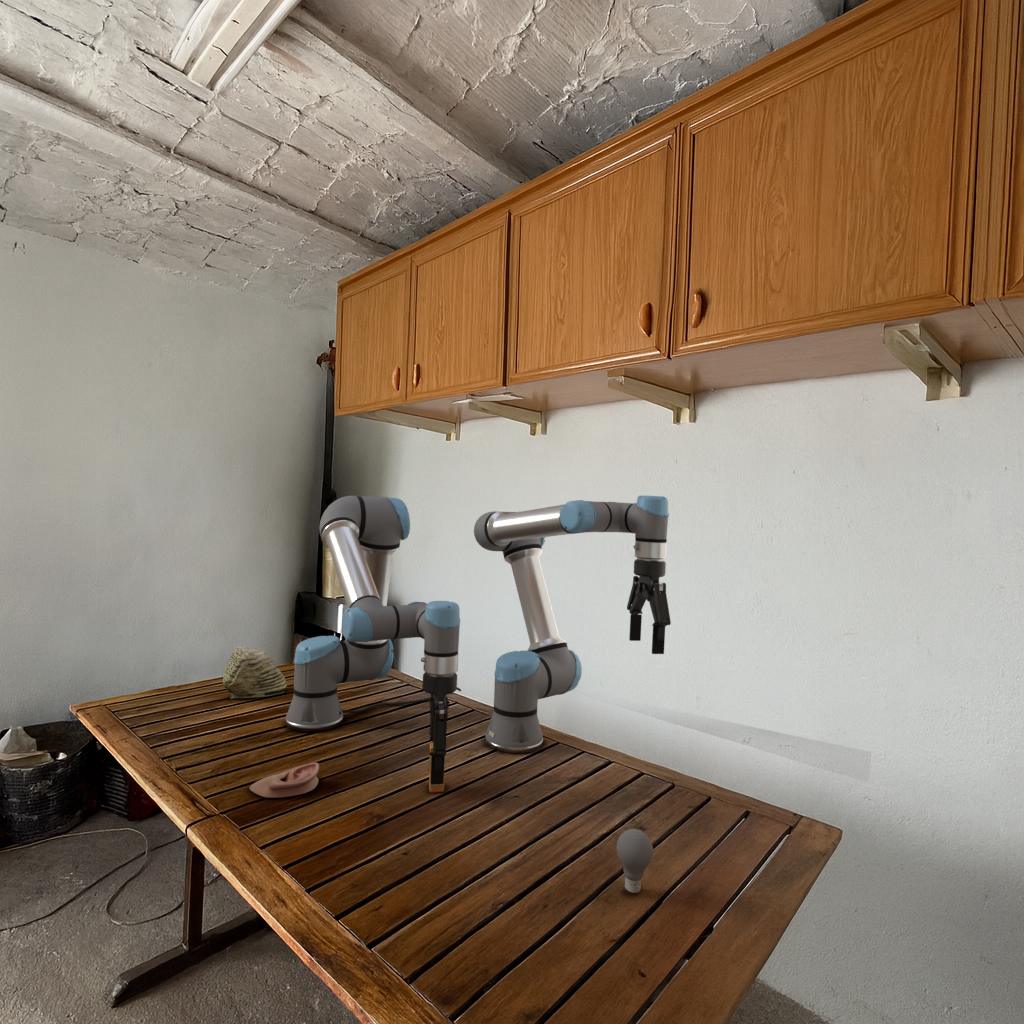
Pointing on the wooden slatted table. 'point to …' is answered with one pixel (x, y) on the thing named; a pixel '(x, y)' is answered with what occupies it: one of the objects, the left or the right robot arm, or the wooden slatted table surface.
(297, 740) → the wooden slatted table surface
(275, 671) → the fossil
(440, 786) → the supplement box
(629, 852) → the light bulb
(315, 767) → the anatomical model
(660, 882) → the wooden slatted table surface
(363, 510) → the left robot arm
